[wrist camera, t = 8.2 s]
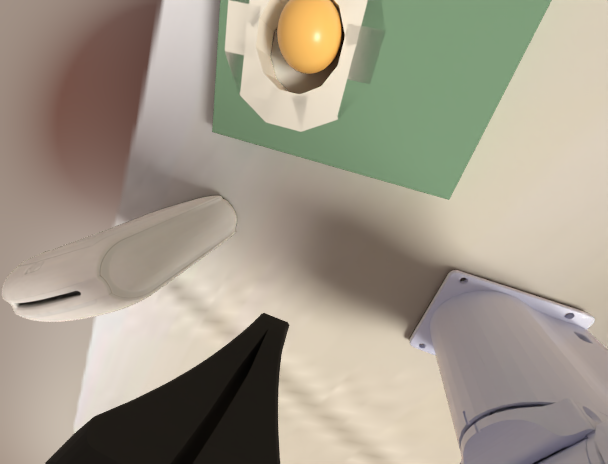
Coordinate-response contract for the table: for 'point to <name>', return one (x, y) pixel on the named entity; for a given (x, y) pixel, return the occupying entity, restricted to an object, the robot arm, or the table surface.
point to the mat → (378, 85)
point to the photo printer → (118, 262)
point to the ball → (309, 34)
